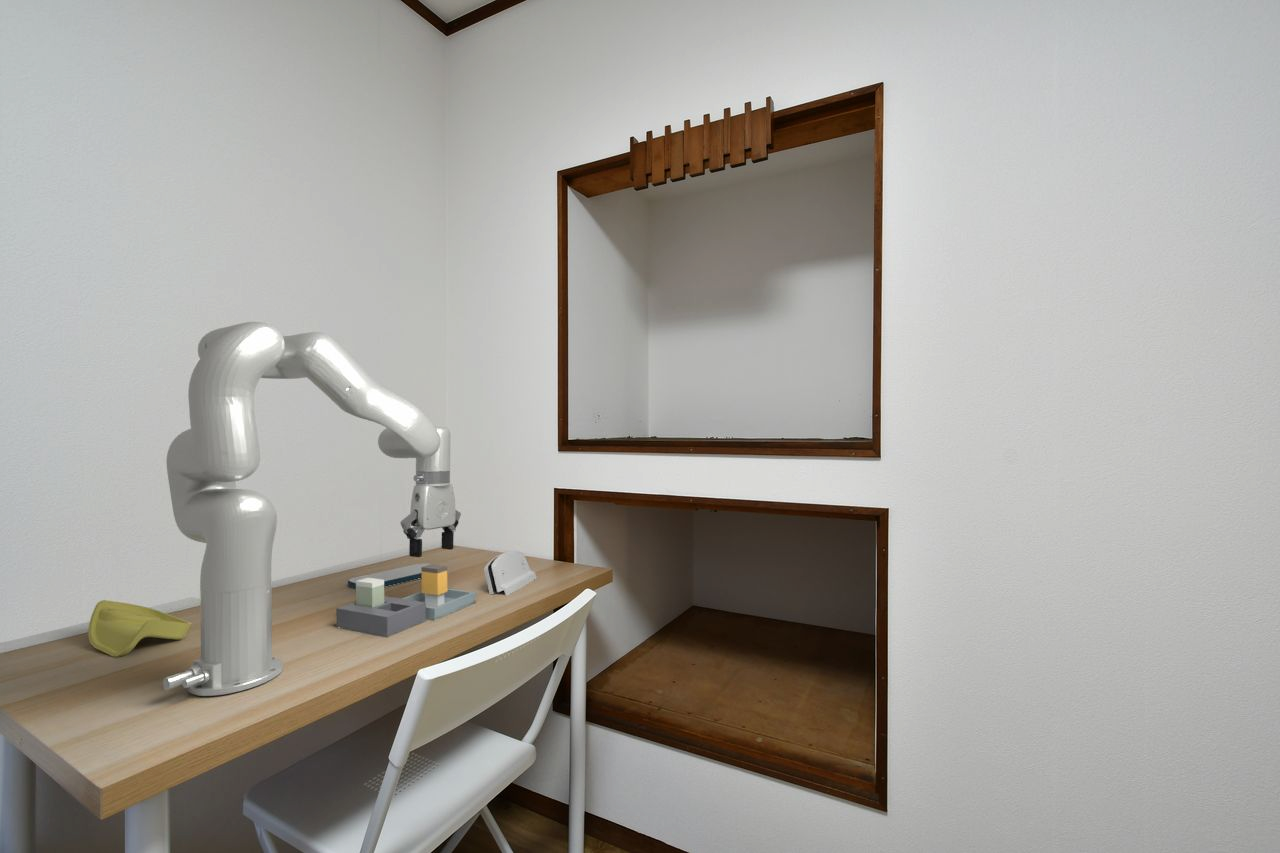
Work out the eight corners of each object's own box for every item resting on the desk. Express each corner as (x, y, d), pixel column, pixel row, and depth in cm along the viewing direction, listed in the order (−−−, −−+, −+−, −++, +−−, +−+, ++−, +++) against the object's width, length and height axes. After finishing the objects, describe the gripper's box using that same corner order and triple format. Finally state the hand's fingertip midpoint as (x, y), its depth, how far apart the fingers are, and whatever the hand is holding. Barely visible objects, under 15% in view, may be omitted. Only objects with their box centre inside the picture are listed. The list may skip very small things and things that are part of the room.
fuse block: (387, 637, 107) (387, 592, 107) (336, 627, 113) (336, 584, 113) (426, 620, 116) (425, 579, 116) (377, 612, 122) (376, 573, 123)
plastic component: (197, 625, 110) (142, 618, 101) (177, 663, 107) (119, 659, 99) (146, 606, 118) (92, 598, 110) (126, 641, 115) (69, 635, 107)
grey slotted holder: (506, 595, 134) (494, 557, 135) (491, 601, 135) (479, 562, 136) (537, 578, 150) (526, 544, 151) (523, 583, 151) (512, 549, 152)
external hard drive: (363, 594, 139) (363, 586, 139) (343, 586, 146) (343, 579, 146) (445, 574, 157) (445, 567, 157) (424, 568, 164) (424, 562, 164)
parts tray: (434, 620, 117) (434, 608, 117) (391, 613, 122) (391, 601, 122) (475, 602, 128) (475, 592, 128) (434, 596, 134) (434, 586, 134)
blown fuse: (437, 608, 123) (437, 569, 123) (421, 605, 125) (421, 567, 125) (447, 604, 125) (447, 566, 126) (431, 602, 128) (431, 564, 128)
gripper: (415, 481, 116) (414, 561, 115) (471, 477, 132) (470, 547, 131) (390, 480, 119) (389, 558, 118) (447, 477, 135) (447, 545, 134)
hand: (432, 552), depth 125 cm, fingers open, 9 cm apart
